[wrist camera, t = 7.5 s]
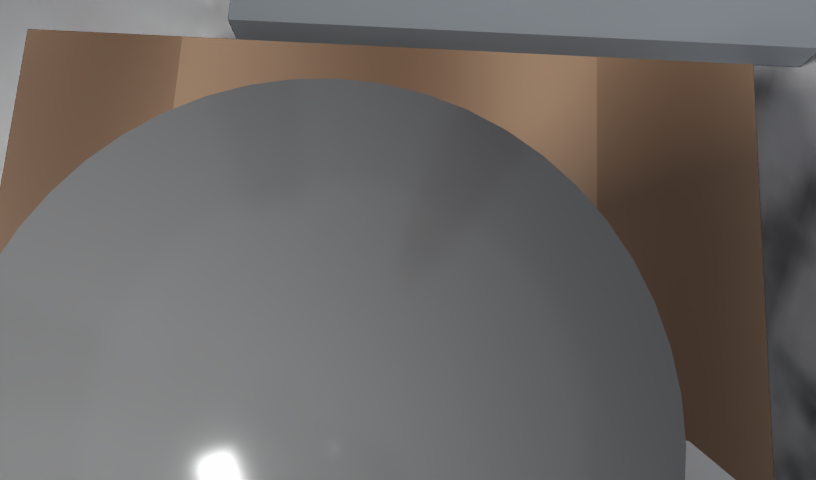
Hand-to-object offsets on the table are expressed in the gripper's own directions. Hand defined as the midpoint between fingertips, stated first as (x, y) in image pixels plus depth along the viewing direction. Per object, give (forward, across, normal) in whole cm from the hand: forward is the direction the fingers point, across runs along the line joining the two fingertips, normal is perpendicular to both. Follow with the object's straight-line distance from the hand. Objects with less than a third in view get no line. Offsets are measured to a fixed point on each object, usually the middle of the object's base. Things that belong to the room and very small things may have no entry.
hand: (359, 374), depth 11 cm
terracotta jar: (+4, 0, +5) cm, 6 cm away
